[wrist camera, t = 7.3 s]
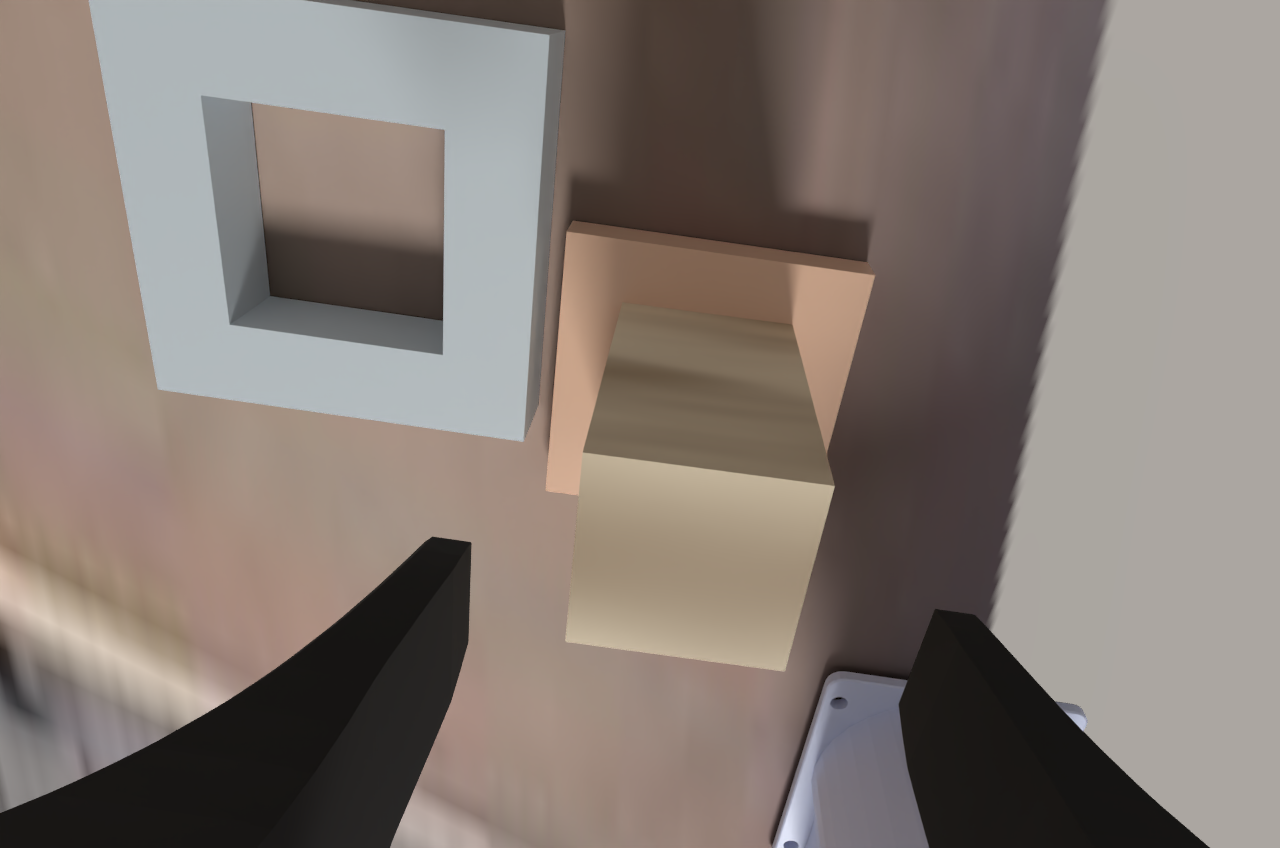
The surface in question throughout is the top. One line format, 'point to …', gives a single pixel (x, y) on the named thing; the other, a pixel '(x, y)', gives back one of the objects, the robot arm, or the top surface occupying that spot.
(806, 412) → the birch block
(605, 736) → the top surface
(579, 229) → the terracotta tile
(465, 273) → the board
